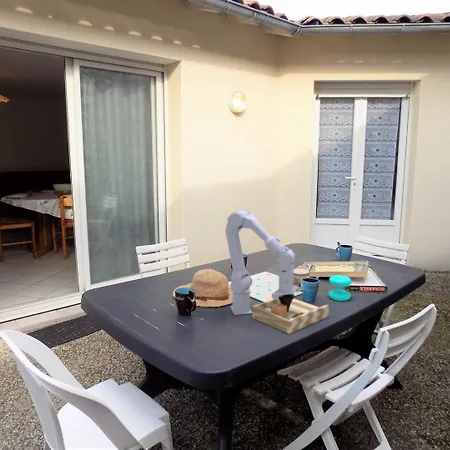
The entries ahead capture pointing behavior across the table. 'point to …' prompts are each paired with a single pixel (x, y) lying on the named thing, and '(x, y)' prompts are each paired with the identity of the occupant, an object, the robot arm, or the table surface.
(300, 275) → the teacup with lid
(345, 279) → the cyan spool
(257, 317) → the trap box
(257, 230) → the robot arm
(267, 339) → the table surface
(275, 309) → the block
